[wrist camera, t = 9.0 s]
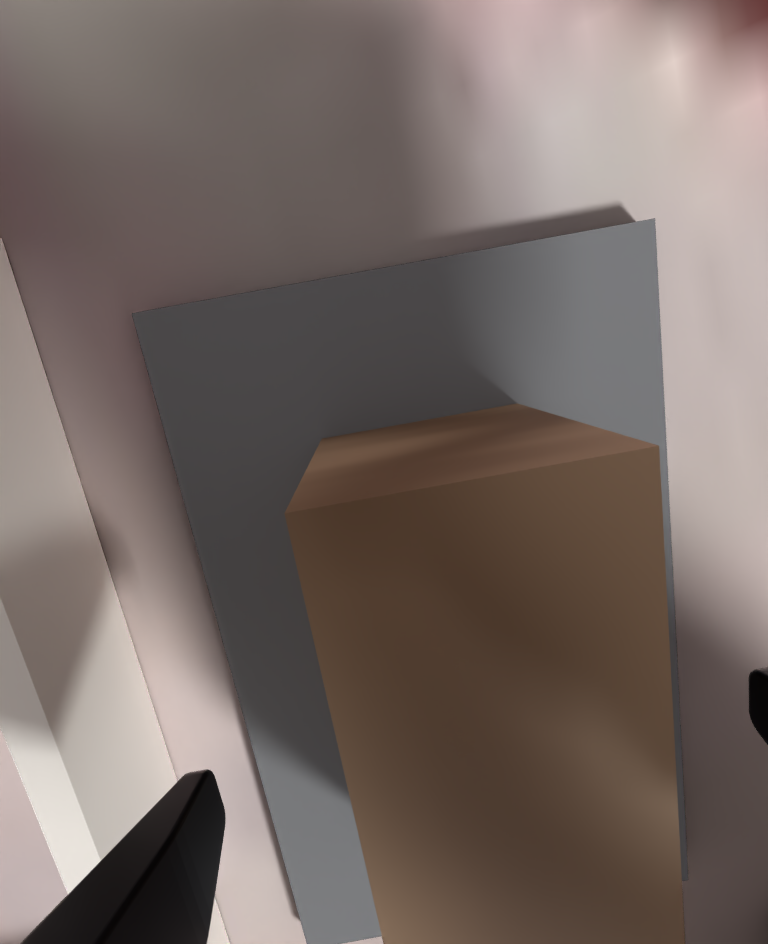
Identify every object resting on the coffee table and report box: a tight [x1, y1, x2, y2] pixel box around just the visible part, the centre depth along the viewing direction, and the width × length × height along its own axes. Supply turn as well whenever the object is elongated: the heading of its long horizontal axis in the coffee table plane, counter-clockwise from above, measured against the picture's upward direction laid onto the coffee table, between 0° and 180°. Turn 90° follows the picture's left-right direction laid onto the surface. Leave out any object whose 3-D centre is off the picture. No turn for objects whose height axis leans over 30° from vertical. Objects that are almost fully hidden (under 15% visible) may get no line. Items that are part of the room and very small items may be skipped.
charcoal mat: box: [132, 218, 688, 944], centre depth 12 cm, size 10×16×1 cm, turn 10°
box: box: [284, 403, 685, 944], centre depth 9 cm, size 4×10×5 cm, turn 10°
